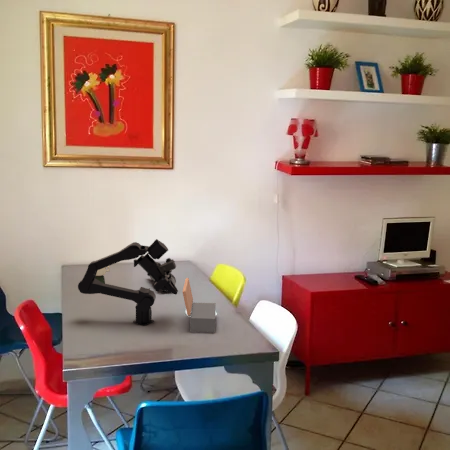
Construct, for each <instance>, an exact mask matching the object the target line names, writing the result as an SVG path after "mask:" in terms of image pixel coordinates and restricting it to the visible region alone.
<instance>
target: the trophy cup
mask: <svg viewBox="0 0 450 450" xmlns="http://www.w3.org/2000/svg"><path fill="white" fill-rule="evenodd" d="M110 266H111V265H110ZM110 266H107V267H105V268H102V269H100V270H97V274H96V277H95V279H97V280H99V281H100V282H102V283H105V284H106V279H105V275H106V274H107V273H109V272H110Z"/></svg>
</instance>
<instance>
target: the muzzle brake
mask: <svg viewBox="0 0 450 450" xmlns="http://www.w3.org/2000/svg"><path fill="white" fill-rule="evenodd" d="M155 262H156V263H159V262H157V261H155ZM146 273H147V272H146ZM147 274H148V273H147ZM147 274H146V275H147ZM171 274H172V272H171V273H169V274H168V276H170V275H171ZM148 277H150V279H151V280H152V281H153V282H154V279H153V278H152V277H151V276H150V275H149V276H148ZM172 281H173V283H174V285H175V286H176V284H177V279H176V277H175V276H174V274H172ZM161 291H162V292H165V291H164V290H161Z"/></svg>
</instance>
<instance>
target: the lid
mask: <svg viewBox="0 0 450 450" xmlns="http://www.w3.org/2000/svg"><path fill="white" fill-rule="evenodd" d="M190 283H191V282H190V279H189V277H186V278H185V280H184V284H183V288H182V296H183V301H184V305H185V306H184V307H185V310H186V314H187V317H191V311H192V306H193V303H194V298H193V293H192V288H191V284H190Z"/></svg>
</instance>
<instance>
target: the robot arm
mask: <svg viewBox="0 0 450 450" xmlns="http://www.w3.org/2000/svg"><path fill="white" fill-rule="evenodd" d="M168 251H169V248H168V247H167V245H166V244H165V243H163V242H162V241H160V240H159V239H157V238H156V239H154V241H153V242H152V243H151V244H150V245H149V246H148V245H143V244H142V245H141V244H140V243H139V242H137V241H135V242H131V243H130V244H128V245H127V246H125V247H123V248H122V249H121V250H119V251H117V252H115V253H111V254H109V255H107V256H104V257H102V258H99V259H97V260H93V261H91V262H90V263H89V264H88V266H87V268H86V271H85V274H84V276H83V278H82V279H81V280H80V281H79V282H78V285H77V290H78V291H79V293H81V294H85V295H95V294H101V295H105V296H109V297H115V298H119V299H122V300H123V299H124V300H128V301H132V302H134V303H136V304H135V320H132V321H133V322H132V323H134V324H137V325H140V326H144V327H145V326H147V325H150V324H152V323H154V322H155V321H154V320H153V319H152V314H153V313H152V312H153V311H152V307H153V305H154V304H155V301H156V293H155V292H154V290H155V291H156V292H159V290H161V291H162V290H164V291H163V292H168V293H170V294H173V295H175V296H176V295H177V294H178V292H179V290H178V288H177V286H176V284H175V285H174V283H173V281H172V275H173V274H172V272H173V270H176V267H177V264H176V261H175V260H174V259H172V258H170V257H168V258H166V259H165V262H164V263H162V264H161V263H160V262H158V263H156V262H157V261H156V260H160V259H161V258H162V257H163V256H164V255H166V253H167V252H168ZM129 260H133V267H134V268H135V267H137V266H138V265H139V266H140V267H141V268H142V269H143V270H144V271H145V273H148V274H146V275H147V276H148V277H150V276H151V277H152V278H153V279H154V281H153V282H154V284H153V290H152V289H151V288H148V287H147V288H146V287H144V286H140V288H139V289H131V288H126V287H122V286H118V285H113V284H110V283H106V282H105V283H102V282H100V281H99V280H97V279H95V277H96V274H97V270H100V269H102V268H105V267H106V268H108V267H107V266H112V265H115V264H117V263H119V262H123V261H129ZM169 273H171V275H170V276H168V274H169ZM149 275H150V276H149ZM151 277H150V278H151Z"/></svg>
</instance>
